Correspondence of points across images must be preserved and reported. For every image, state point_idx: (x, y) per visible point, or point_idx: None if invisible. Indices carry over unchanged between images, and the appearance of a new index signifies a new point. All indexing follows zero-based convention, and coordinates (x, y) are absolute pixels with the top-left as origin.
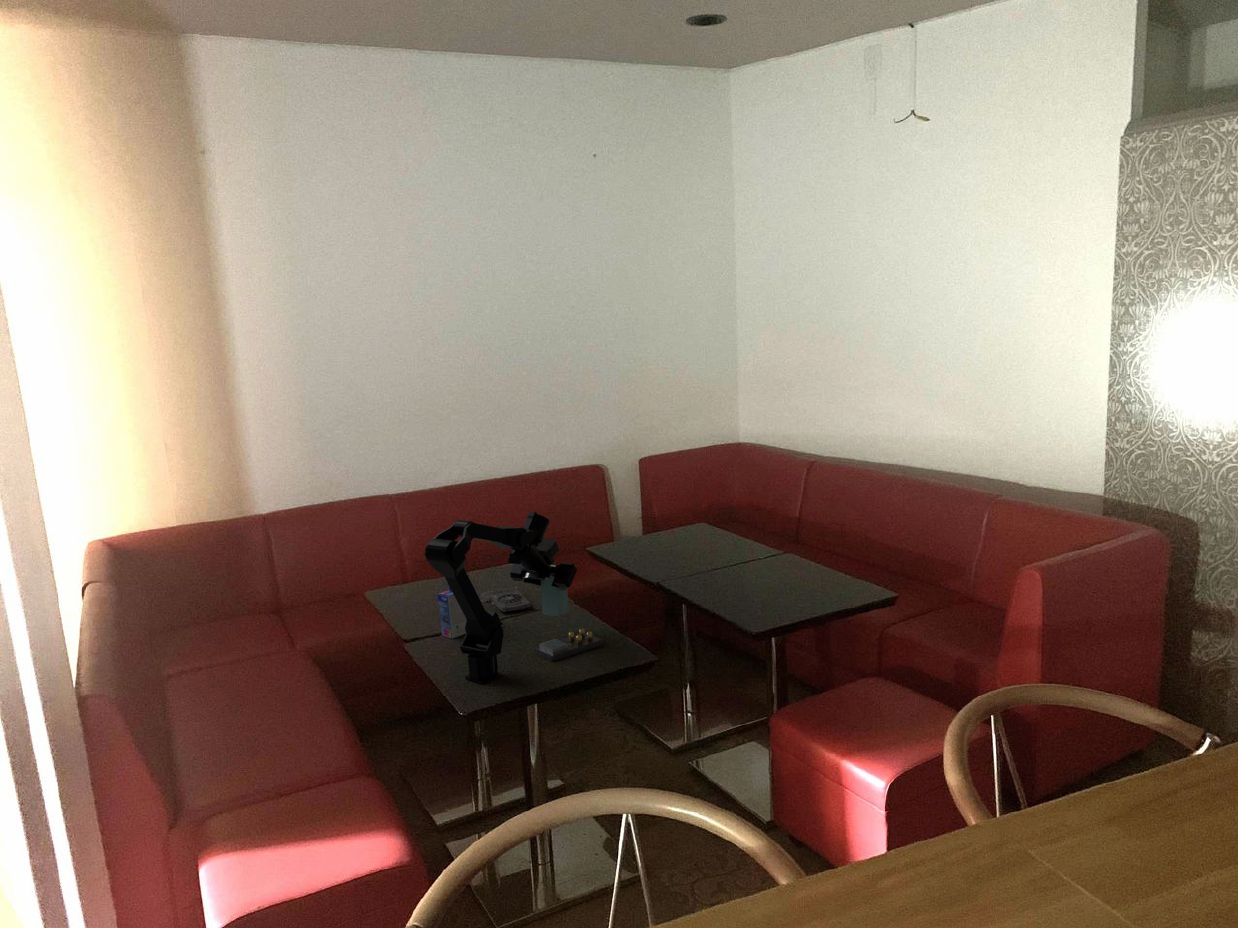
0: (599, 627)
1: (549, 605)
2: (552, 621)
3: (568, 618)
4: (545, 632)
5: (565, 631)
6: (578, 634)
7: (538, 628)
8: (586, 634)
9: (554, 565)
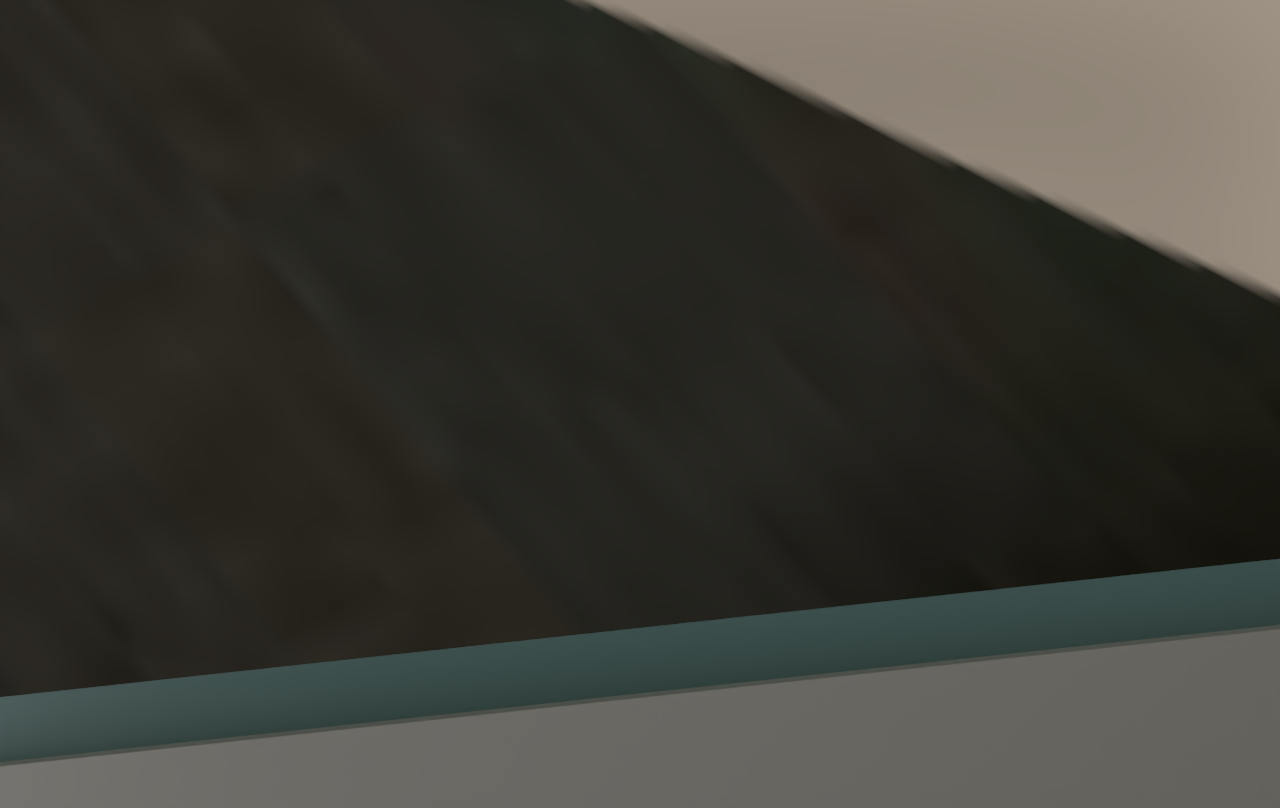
0: (993, 205)
1: None
2: (231, 341)
3: (360, 139)
4: None
5: (676, 572)
6: None
7: None
8: None
9: (262, 777)
